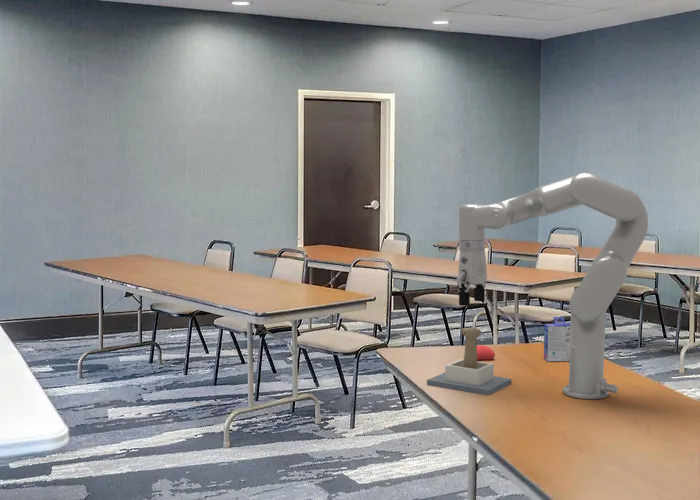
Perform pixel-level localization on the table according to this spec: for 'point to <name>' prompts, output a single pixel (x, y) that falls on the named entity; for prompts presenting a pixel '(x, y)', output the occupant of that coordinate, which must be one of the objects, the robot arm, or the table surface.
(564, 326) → the ink cartridge box
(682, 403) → the table surface
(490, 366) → the socket
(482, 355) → the red bean shape
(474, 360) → the handle
